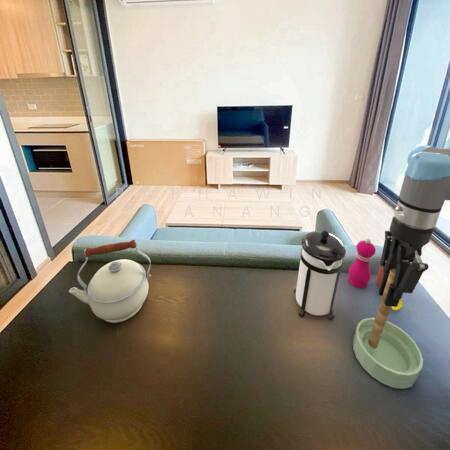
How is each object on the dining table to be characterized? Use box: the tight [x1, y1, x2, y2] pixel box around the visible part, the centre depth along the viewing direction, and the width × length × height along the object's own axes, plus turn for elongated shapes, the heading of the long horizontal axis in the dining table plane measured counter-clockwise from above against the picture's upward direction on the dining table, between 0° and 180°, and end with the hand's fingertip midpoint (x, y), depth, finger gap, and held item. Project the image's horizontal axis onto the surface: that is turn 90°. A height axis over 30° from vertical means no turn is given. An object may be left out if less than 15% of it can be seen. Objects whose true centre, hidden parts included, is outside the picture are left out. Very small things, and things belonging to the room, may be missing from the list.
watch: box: [391, 298, 404, 311], centre depth 82 cm, size 6×3×6 cm, turn 87°
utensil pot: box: [375, 261, 386, 288], centre depth 90 cm, size 5×5×12 cm
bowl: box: [352, 317, 424, 390], centre depth 67 cm, size 15×15×6 cm
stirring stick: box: [368, 269, 396, 349], centre depth 64 cm, size 2×2×26 cm
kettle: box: [68, 239, 152, 324], centre depth 79 cm, size 25×18×25 cm
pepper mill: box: [347, 238, 376, 289], centre depth 90 cm, size 7×7×20 cm
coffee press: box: [293, 230, 347, 321], centre depth 80 cm, size 17×16×30 cm
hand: (387, 299), depth 63 cm, fingers closed on stirring stick, 2 cm apart
